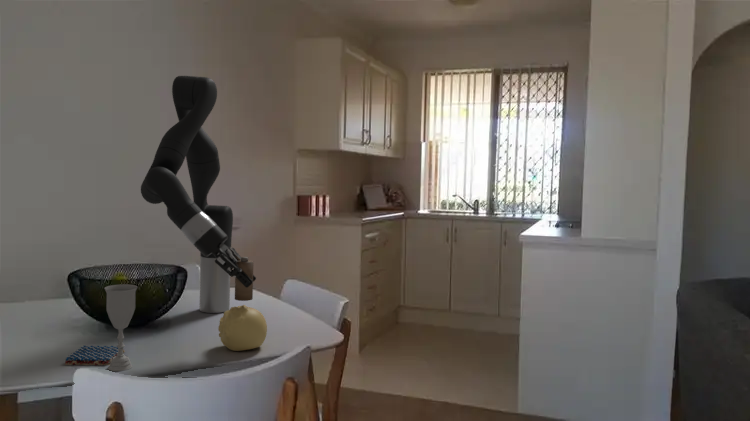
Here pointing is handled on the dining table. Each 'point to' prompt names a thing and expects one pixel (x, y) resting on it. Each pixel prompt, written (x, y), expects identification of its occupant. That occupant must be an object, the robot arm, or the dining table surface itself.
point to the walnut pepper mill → (240, 290)
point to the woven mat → (92, 356)
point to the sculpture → (242, 328)
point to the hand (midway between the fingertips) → (251, 282)
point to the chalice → (120, 319)
